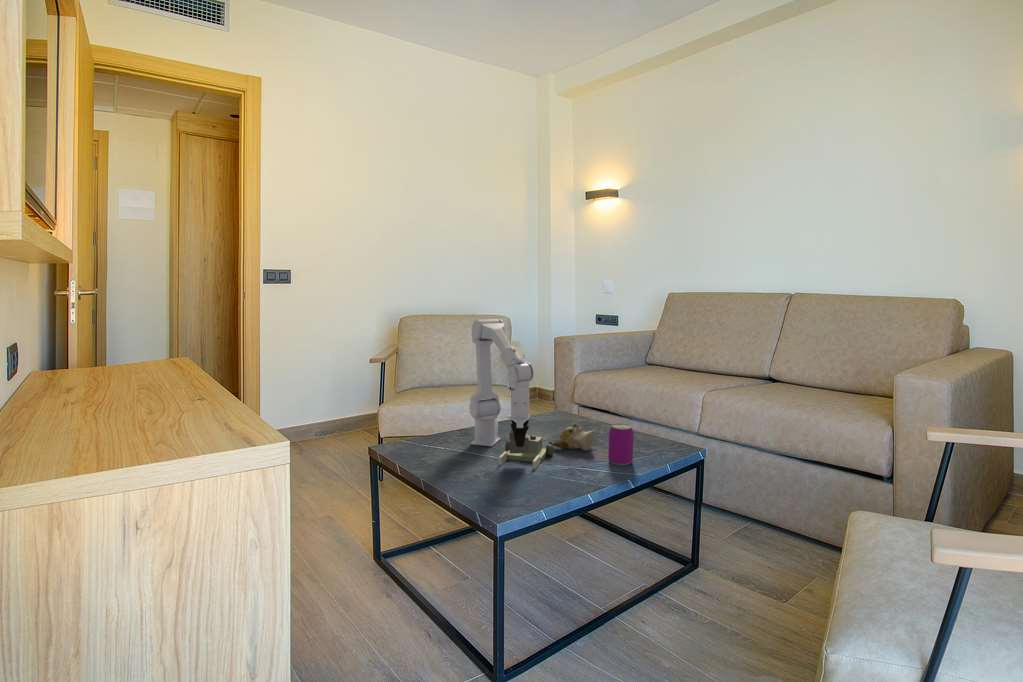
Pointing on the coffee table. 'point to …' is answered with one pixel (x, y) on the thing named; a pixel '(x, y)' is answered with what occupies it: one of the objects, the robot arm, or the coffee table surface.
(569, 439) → the ceramic sculpture
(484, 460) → the coffee table surface
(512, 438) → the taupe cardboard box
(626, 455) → the beverage can
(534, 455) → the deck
